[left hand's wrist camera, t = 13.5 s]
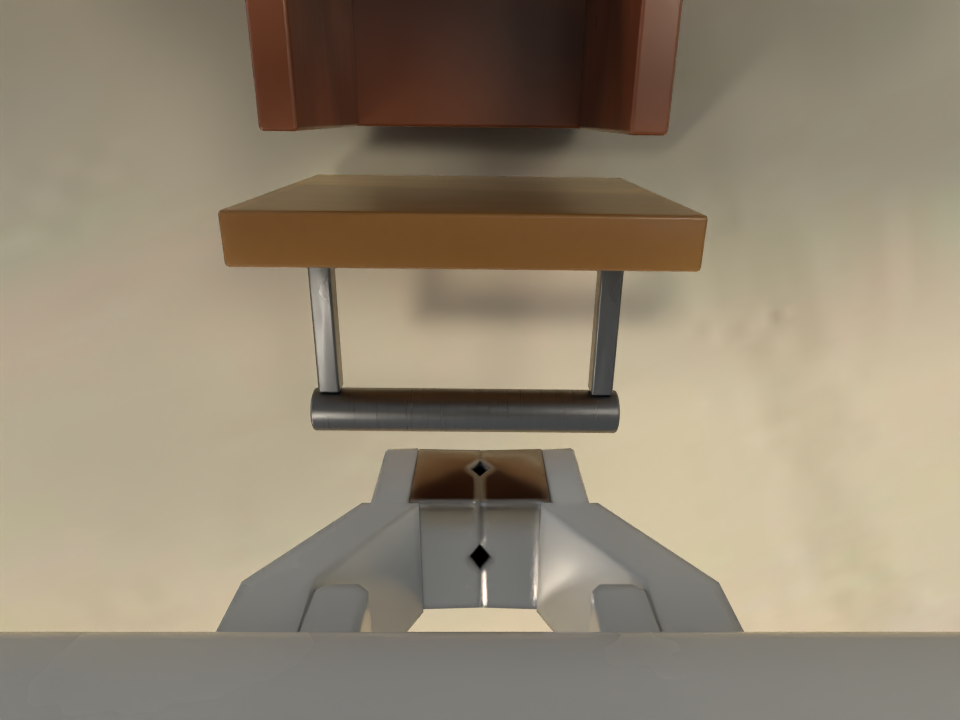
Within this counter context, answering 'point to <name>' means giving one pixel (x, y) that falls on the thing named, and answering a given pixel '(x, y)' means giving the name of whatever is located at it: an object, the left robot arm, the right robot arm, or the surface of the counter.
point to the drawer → (464, 199)
